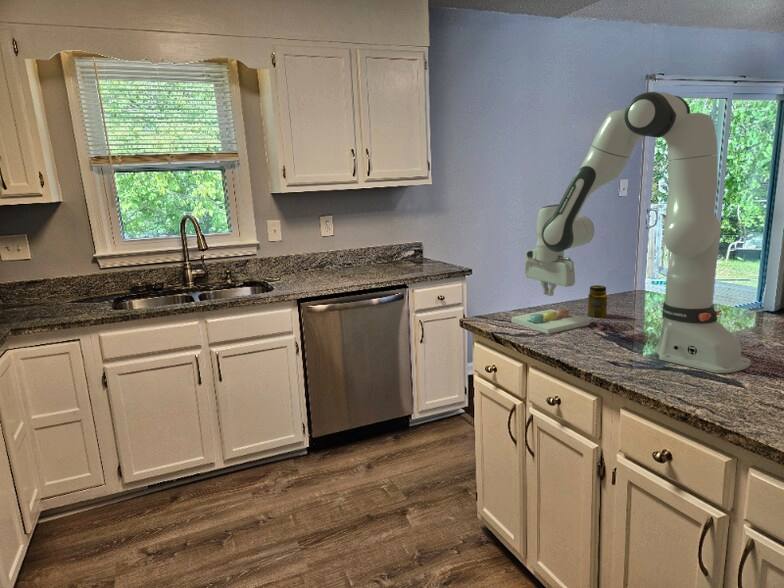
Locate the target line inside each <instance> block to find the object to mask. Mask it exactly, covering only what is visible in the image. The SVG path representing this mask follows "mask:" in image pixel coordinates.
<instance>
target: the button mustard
mask: <svg viewBox="0 0 784 588" xmlns="http://www.w3.org/2000/svg"><path fill="white" fill-rule="evenodd" d="M543 315H544V320H546V321H554V320H556V312H552V311H546V312H543Z"/></svg>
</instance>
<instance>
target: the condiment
mask: <svg viewBox="0 0 784 588" xmlns="http://www.w3.org/2000/svg"><path fill="white" fill-rule="evenodd" d="M587 297H588V300H587V303H588V304H587V316H588V317H589V318H592V319H605V318H606V317H607V305H608V304H607V303H608V296H607V287H606V286H605V285H590V286H589V294H588V295H587Z"/></svg>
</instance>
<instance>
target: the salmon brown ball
mask: <svg viewBox="0 0 784 588" xmlns="http://www.w3.org/2000/svg"><path fill="white" fill-rule="evenodd" d="M555 310H556V317H557V318H561V319H563V318H568V315H569V312H570V311H569V309H566V308H557V309H555Z"/></svg>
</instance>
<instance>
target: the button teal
mask: <svg viewBox="0 0 784 588" xmlns="http://www.w3.org/2000/svg"><path fill="white" fill-rule="evenodd" d="M531 323H534V324H540V323H544V315H542V314H532V315H531Z"/></svg>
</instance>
